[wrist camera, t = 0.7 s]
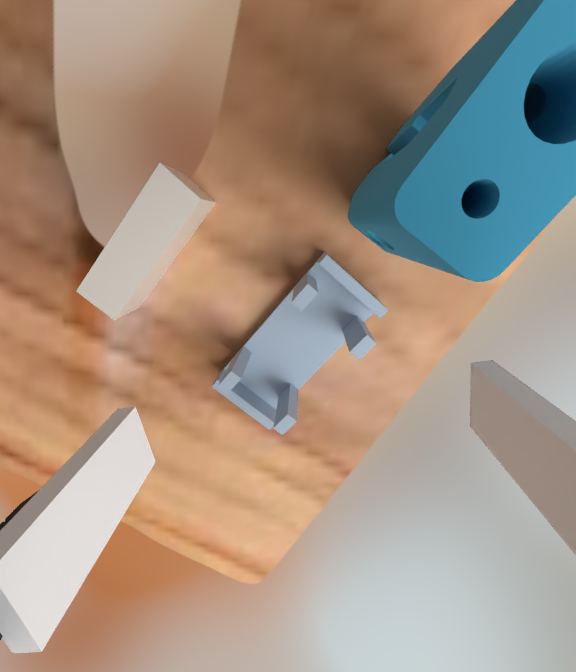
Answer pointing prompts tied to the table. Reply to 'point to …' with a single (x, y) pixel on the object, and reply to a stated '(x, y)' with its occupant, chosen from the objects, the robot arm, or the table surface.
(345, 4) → the table surface
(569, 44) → the block
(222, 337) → the table surface
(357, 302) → the rack
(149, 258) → the white rectangular bar
